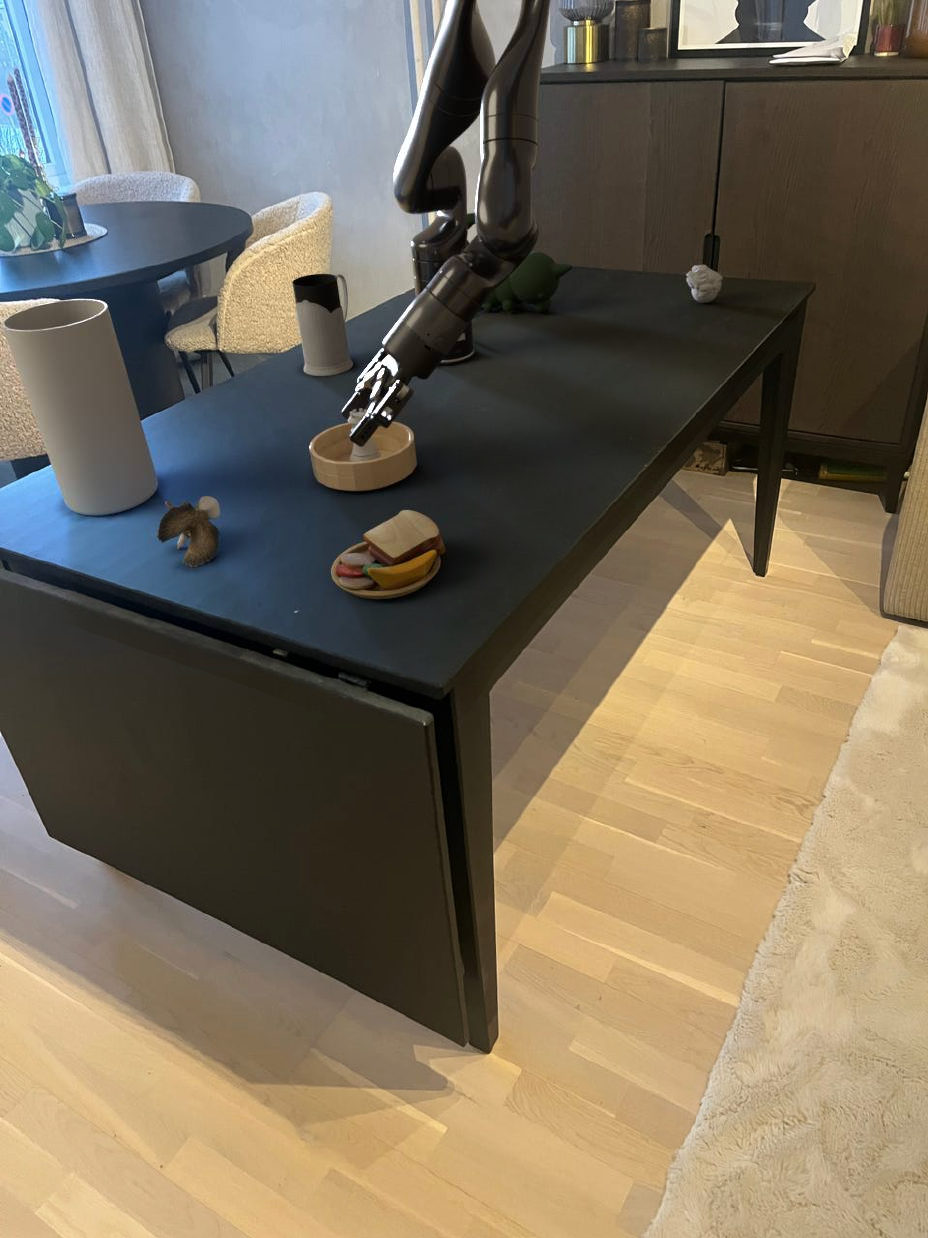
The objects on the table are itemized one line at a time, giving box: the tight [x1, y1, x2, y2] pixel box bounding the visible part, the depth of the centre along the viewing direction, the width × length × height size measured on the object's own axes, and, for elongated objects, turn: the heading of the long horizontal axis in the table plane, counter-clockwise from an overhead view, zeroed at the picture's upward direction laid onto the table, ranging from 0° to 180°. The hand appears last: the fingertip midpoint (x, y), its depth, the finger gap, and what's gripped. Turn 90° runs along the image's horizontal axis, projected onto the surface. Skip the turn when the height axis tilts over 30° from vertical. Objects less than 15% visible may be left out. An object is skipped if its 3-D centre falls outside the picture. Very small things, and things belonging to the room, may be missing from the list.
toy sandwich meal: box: [330, 509, 446, 600], centre depth 107 cm, size 12×14×5 cm
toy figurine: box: [466, 212, 573, 314], centre depth 180 cm, size 9×19×25 cm
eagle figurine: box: [156, 495, 221, 568], centre depth 115 cm, size 8×7×9 cm
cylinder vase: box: [1, 298, 159, 516], centre depth 123 cm, size 12×12×25 cm
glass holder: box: [291, 273, 354, 377], centre depth 164 cm, size 9×14×15 cm, turn 158°
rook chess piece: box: [347, 408, 381, 462], centre depth 128 cm, size 4×4×8 cm
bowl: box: [309, 421, 418, 492], centre depth 129 cm, size 14×14×4 cm
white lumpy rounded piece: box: [685, 264, 723, 304], centre depth 178 cm, size 6×7×7 cm
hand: (350, 430), depth 127 cm, fingers open, 8 cm apart
